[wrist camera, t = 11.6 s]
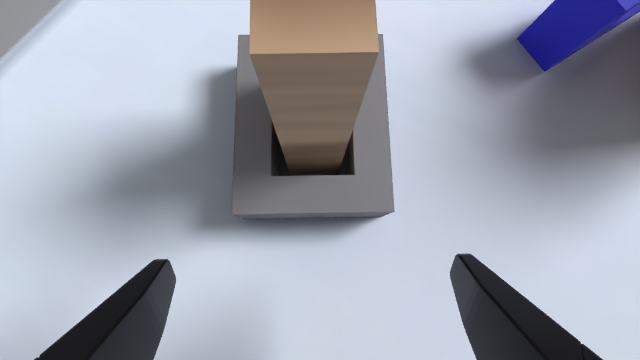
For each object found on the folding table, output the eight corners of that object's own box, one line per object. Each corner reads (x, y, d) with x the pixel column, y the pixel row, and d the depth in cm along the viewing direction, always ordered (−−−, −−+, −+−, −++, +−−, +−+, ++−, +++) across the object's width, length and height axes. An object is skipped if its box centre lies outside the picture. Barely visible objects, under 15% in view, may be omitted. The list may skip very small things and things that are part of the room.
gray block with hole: (382, 216, 20) (394, 211, 17) (244, 218, 19) (231, 214, 16) (373, 62, 22) (382, 34, 19) (248, 63, 22) (238, 34, 19)
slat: (337, 173, 20) (378, 52, 7) (290, 175, 20) (249, 53, 7) (334, 100, 21) (366, -119, 8) (289, 101, 21) (252, -119, 8)
